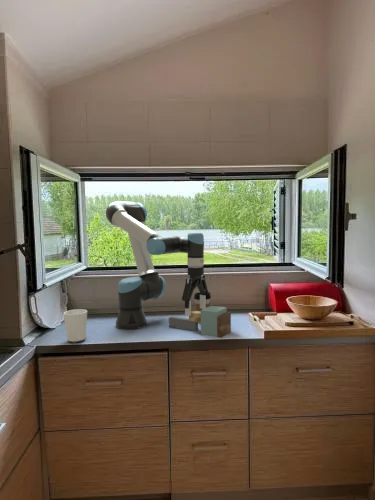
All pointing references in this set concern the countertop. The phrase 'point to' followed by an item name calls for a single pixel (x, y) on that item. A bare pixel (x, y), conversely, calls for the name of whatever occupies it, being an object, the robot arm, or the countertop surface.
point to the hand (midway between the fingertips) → (195, 311)
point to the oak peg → (195, 316)
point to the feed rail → (182, 323)
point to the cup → (75, 325)
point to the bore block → (210, 320)
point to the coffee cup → (197, 301)
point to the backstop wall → (223, 324)
